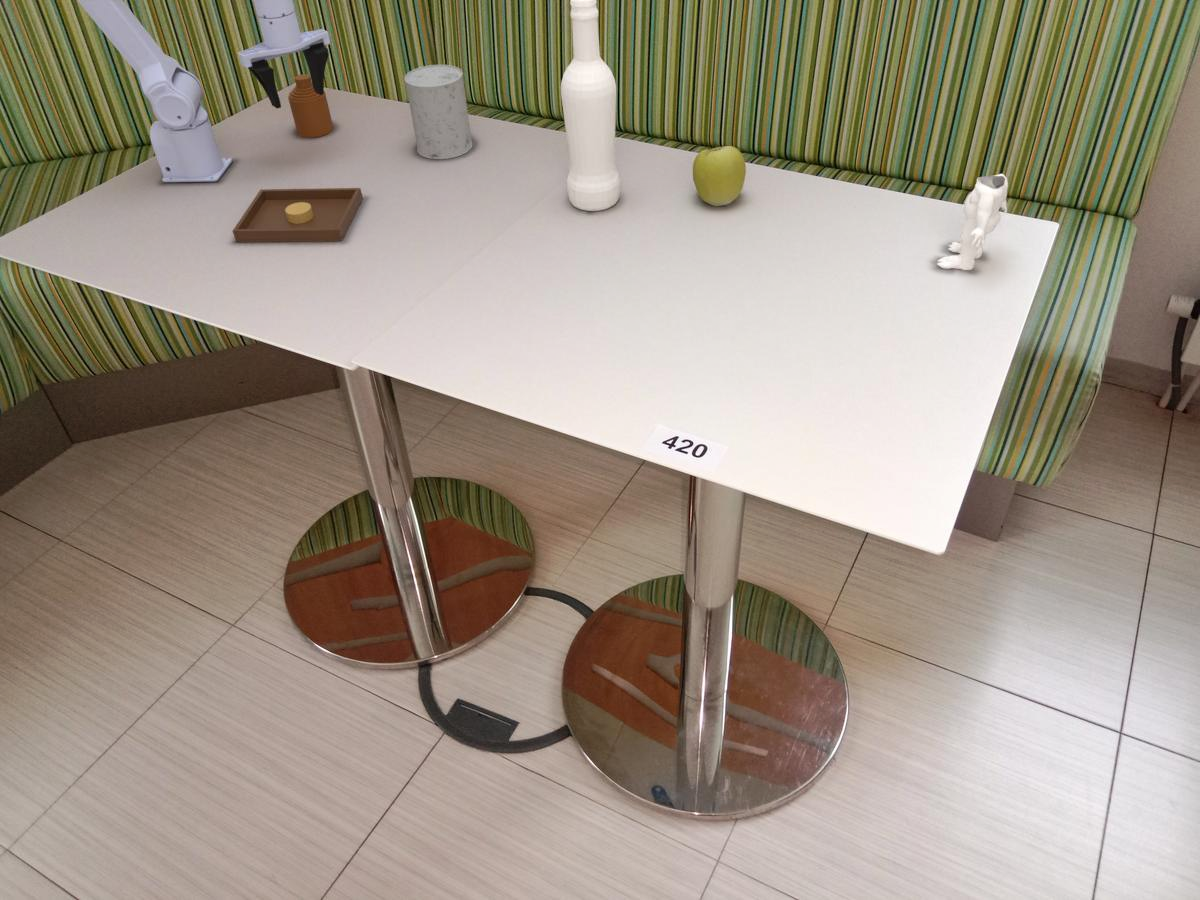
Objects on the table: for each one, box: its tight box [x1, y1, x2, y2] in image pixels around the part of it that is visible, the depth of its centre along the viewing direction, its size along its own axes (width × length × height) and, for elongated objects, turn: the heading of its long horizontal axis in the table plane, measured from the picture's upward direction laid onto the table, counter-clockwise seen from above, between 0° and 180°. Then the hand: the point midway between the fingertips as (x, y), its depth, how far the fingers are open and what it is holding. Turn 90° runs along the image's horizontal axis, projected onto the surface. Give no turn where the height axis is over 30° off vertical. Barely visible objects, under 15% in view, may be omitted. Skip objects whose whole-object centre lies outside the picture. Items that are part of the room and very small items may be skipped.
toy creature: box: [936, 173, 1009, 271], centre depth 128 cm, size 12×6×12 cm, turn 147°
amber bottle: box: [287, 73, 334, 139], centre depth 171 cm, size 6×6×10 cm
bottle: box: [560, 0, 621, 212], centre depth 140 cm, size 8×8×30 cm
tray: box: [232, 187, 364, 243], centre depth 148 cm, size 16×13×2 cm
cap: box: [285, 202, 314, 224], centre depth 148 cm, size 4×4×2 cm
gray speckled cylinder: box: [403, 64, 473, 160], centre depth 162 cm, size 10×10×12 cm
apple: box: [692, 141, 747, 207], centre depth 145 cm, size 8×8×10 cm
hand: (298, 99), depth 158 cm, fingers open, 7 cm apart
